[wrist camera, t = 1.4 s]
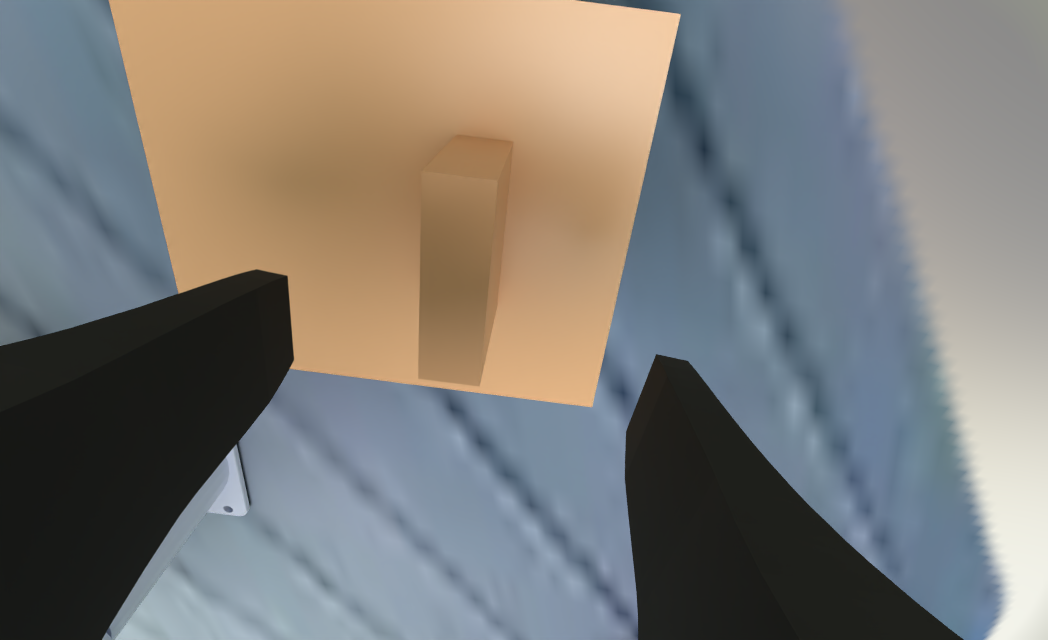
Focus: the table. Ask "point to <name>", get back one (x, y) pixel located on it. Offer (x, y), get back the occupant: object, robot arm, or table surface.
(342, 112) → the lid
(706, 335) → the table surface
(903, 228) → the table surface
